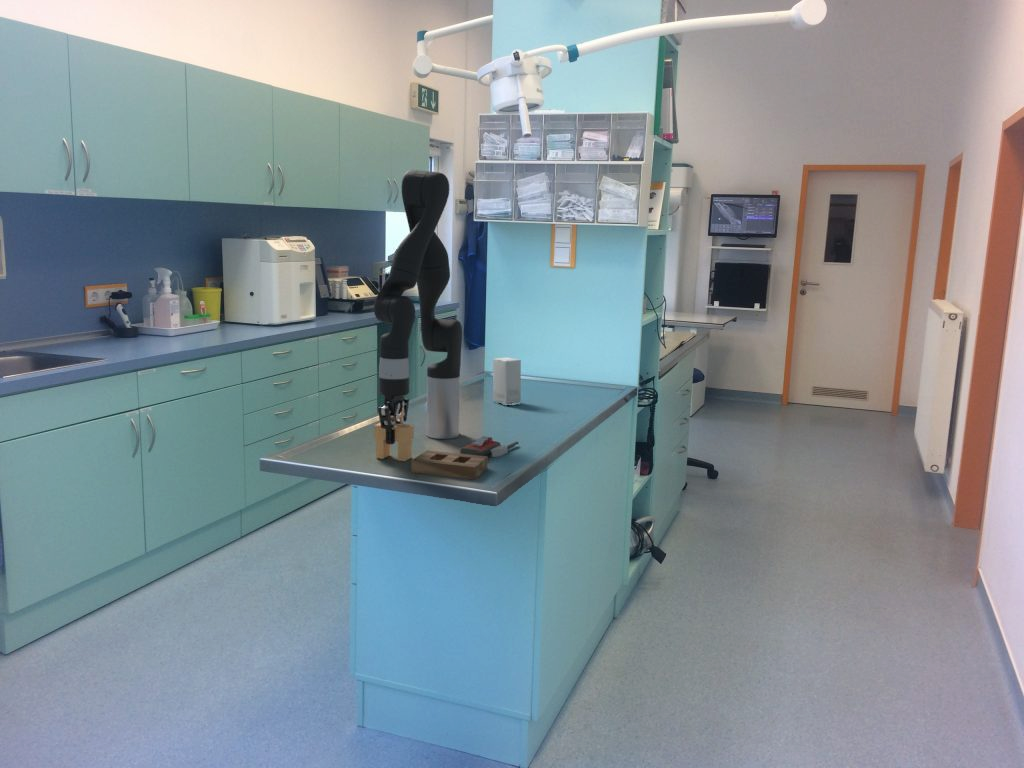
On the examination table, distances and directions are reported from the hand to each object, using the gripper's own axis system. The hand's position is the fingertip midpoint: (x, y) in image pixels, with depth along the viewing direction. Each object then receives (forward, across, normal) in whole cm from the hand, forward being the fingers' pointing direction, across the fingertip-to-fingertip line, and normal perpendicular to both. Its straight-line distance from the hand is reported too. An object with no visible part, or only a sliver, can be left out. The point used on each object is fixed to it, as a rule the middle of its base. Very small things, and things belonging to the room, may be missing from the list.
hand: (394, 441), depth 206 cm
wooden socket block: (+4, -5, -17) cm, 18 cm away
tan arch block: (+4, 0, 0) cm, 4 cm away
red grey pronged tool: (+5, +15, -21) cm, 26 cm away
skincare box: (+5, +78, -7) cm, 78 cm away
